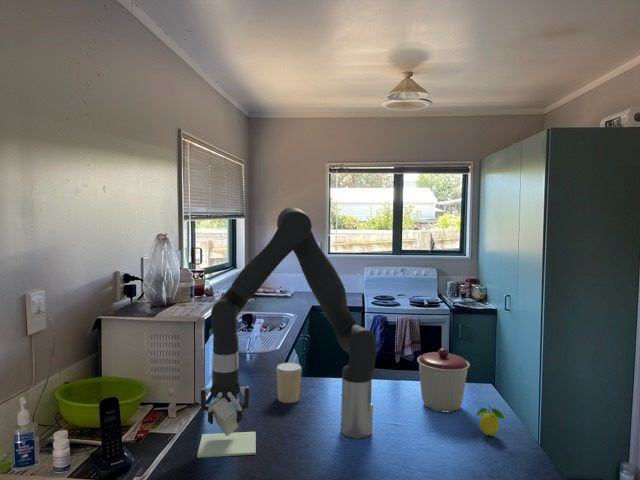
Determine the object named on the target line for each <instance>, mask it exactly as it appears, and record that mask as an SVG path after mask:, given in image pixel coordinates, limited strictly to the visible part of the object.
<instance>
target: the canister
mask: <svg viewBox="0 0 640 480" xmlns="http://www.w3.org/2000/svg"><path fill="white" fill-rule="evenodd" d="M416 360H417V363H418V369H419V381H420V392H421V400H422V402H423V403H424V405H425V406H426V407H427V408H428V407H429V408H428V409H430V408H431V409H430V410H432V409H433V410H432V411H435V410H437V411H436V412H439V411H445V412H444V413H447V412H446V411H454V412H456V411H458V410H459V409H460V408H461V406H462V404H463V399H464V395H465V387H466V381H467V375H468V369H469V368H470V366H471V365H470V362H469V361H467V360H466V358H464V357H462V356H461V355H457V354H453V353H449V350H448V349H447V348H444V347H442V348H439V349H438V351H430V352H426V353H423V354H421V355H419V356H418V357H417V359H416ZM457 409H458V410H457ZM455 410H456V411H455Z"/></svg>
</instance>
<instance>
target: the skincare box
mask: <svg viewBox="0 0 640 480" xmlns="http://www.w3.org/2000/svg"><path fill="white" fill-rule="evenodd" d="M212 409H213V419H214V422H215V423H216V425H217V426H218V427H219V429H220V430H221V431H222V433H224V434H225V435H226V436H228V435H229V434H231V433H234V432H235V430H237V429H238V428H239V423H237V410H236V409H235V408H234V407H233V405H232V404H231V402H228V401H227V400H226V399H225V398H221V399H220V400H219V401H217V402H216V403H214V404H213V405H212Z"/></svg>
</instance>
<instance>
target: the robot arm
mask: <svg viewBox="0 0 640 480" xmlns="http://www.w3.org/2000/svg"><path fill="white" fill-rule="evenodd" d="M276 227H277V229H276V231H275V233H274V235H273V236H272V238H271V239H270V240H269V242H268V243H267V245H266V246H265V247H264V248H263V249H262V250H261V251H260V252H259V253H258V254H257V255H256V256H255V257H253V258H251V260H250V261H249V262H248V263H247V264H246V265H245V266H244V268H243V269H242V270H241V271H240V273H239V274H238V275H237V277H236V278H235V279H234V280H233V282H232V283H231V286H230V287H229V289H227V291H226V292H225V293H224V294H223V295H222V296H221V298H220V299H219V300H218V301H216V303H214V305H213V306H212V307H211V310H210V311H211V312H210V321H211V323H210V324H211V331H212V335H213V338H212V339H213V340H212V344H213V345H212V358H211V359H212V360H211V377H212V378H211V387H206V386H202V387H201V389H200V409H201V411H206V412H207V423H209V425H213V424H214V414H213V409H212V405H213V404H214V403H216V402H217V401H219V400H220V399H221V398H225V399H226V400H227V401H228V402H229V403H231V402H232V404H233V405H234V406H235V408H236V416H237V423H238V424H240V422H242V420H243V410H244V409H245V410H246V409H247V410H248V409H249V401H250V386H249V385H245V386H240V383H239V379H240V378H239V377H240V376H239V368H240V366H239V365H240V362H239V361H240V360H239V337H238V336H239V335H238V333H237V331H236V329H237V328H236V320H237V317H238V315H240V313H241V311H242V310H243V308H244V307H245V306H246V304H247V303H248V302H249V300H250V299H252V298H253V297H254V296H255V294H256V293H257V292H259V289H260V288H261V287H262V286H263V284H264V283H265V281H267V279H268V278H269V277H270V276H271V274H272V273H273V272H274V271H275V269H276V268H277V267H278V266H279V265H280V264H281V263H282V262H283V261H284V260H285V258H286V257H288V255H289V254H291V252H294V254H295V256H296V258H297V261H298V263H299V265H300V268H301V271H302V273H303V276H304V277H305V281H306V283H307V284H308V287H309V289H310V290H311V292H312V294H313V295H314V297H315V300H316V301H317V303H318V304H319V306H320V307H321V309H322V311H323V313H324V314H325V316H326V318H327V319H328V321H329V322H330V325H331V327H332V329H333V332H334V335H335V337H336V339H337V342H338V344H339V346H340V347H341V349H342V350H343V351H344V352H345V353H347V354H348V355H349V357H348V364H347V365H345V366H343V368H342V369H341V371H342V373H341V375H342V377H341V403H340V404H341V406H340V409H341V410H340V432H341V434H342V435H343V436H345V437H347V438H351V439H362V438H367V437H369V436H373V417H374V415H373V412H374V411H373V410H374V406H373V403H372V385H373V384H372V383H373V382H372V379H373V374H374V373H373V372H374V371H375V366H376V356H377V355H376V354H377V340H376V336H375V334H374V332H372V330H370V329H368V328H365V327H363V326H361V325H360V324H358V323H357V321H356V320H355V317H354V316H353V315H352V313H351V311H350V309H349V307H348V302H347V301H348V300H347V291H346V288H345V285H344V284H343V281H342V280H341V278H340V276H339V274H338V272H337V270H336V269H335V267H334V265H333V264H332V262H331V261H330V259H329V258H328V257H327V256H326V253H324V251H323V250H322V248H321V247H320V246H319V243H318V242H317V240H316V237H315V236H314V233H313V231H312V221H311V218H310V217H309V215H308V214H307V213H306V212H305V211H303V210H302V209H300V208H297V207H286V208H284V209H283V210H282V211H280V212H279V215H278V217H277V221H276ZM240 392H241V393H242V394H241V395H242V396H244V402H241V401H240V399H239V396H238V395H239V393H240ZM209 393H210V394H211V395H212V396H213V398H212V400H211V402H209V404H207V397H208V396H209Z"/></svg>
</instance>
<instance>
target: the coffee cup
mask: <svg viewBox="0 0 640 480" xmlns="http://www.w3.org/2000/svg"><path fill="white" fill-rule="evenodd" d="M275 369H276V385H277V386H276V387H277V400H278V401H279V402H281V403H285V404H291V403H297V402H298V401H299V400H300V392H301V382H302V381H301V380H302V366H301V365H300V364H298V363H295V362H283V363H280V364H278V365H277V367H276V368H275Z"/></svg>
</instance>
